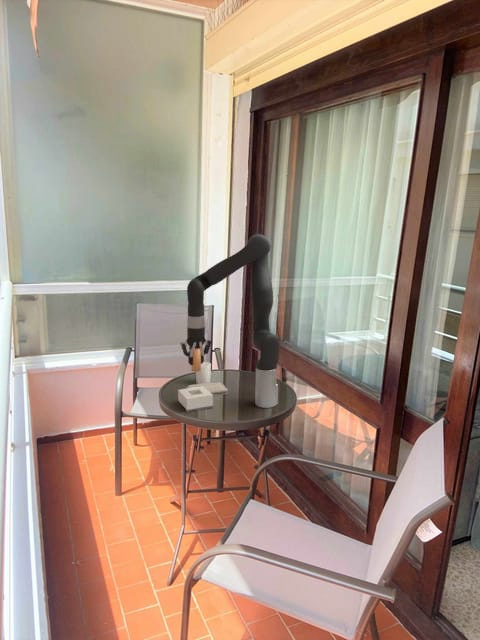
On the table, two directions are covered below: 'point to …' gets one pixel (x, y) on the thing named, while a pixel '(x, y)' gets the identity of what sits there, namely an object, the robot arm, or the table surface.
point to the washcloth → (212, 388)
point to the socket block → (195, 398)
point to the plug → (196, 360)
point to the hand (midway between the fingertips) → (196, 364)
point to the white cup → (204, 373)
